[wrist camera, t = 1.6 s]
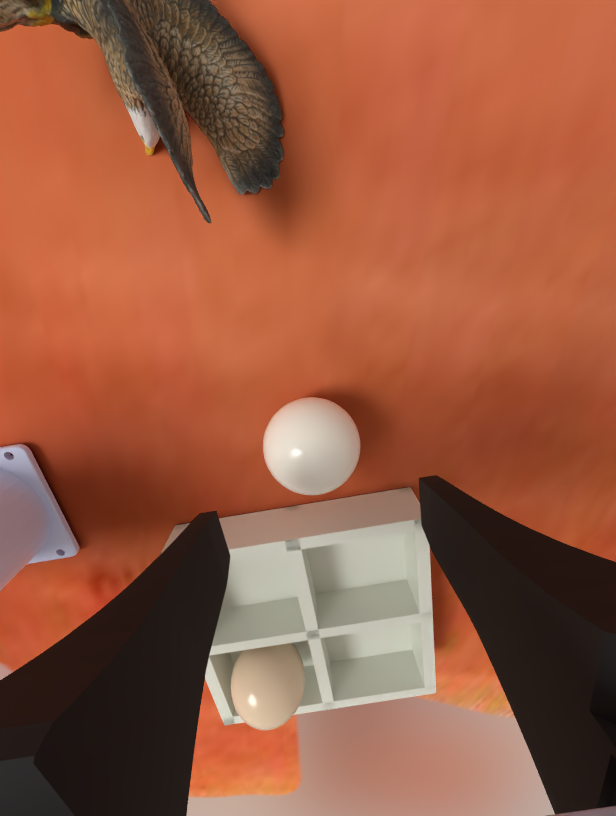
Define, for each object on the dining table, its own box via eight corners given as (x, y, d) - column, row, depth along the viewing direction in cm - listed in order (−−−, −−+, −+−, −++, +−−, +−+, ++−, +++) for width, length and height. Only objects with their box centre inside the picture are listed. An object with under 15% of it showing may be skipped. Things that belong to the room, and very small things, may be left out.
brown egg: (245, 668, 26) (234, 753, 21) (230, 623, 24) (214, 705, 19) (309, 659, 26) (312, 742, 21) (297, 613, 24) (299, 692, 19)
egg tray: (231, 679, 27) (224, 725, 24) (174, 525, 21) (156, 561, 18) (420, 649, 26) (436, 693, 23) (410, 487, 21) (428, 517, 18)
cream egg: (275, 470, 20) (270, 524, 16) (258, 393, 19) (246, 428, 14) (356, 457, 20) (375, 507, 15) (346, 379, 18) (364, 409, 14)
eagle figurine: (21, 151, 14) (206, 274, 14) (-199, -191, 7) (174, 67, 7) (144, 62, 16) (300, 169, 16) (74, -258, 9) (344, -62, 9)
